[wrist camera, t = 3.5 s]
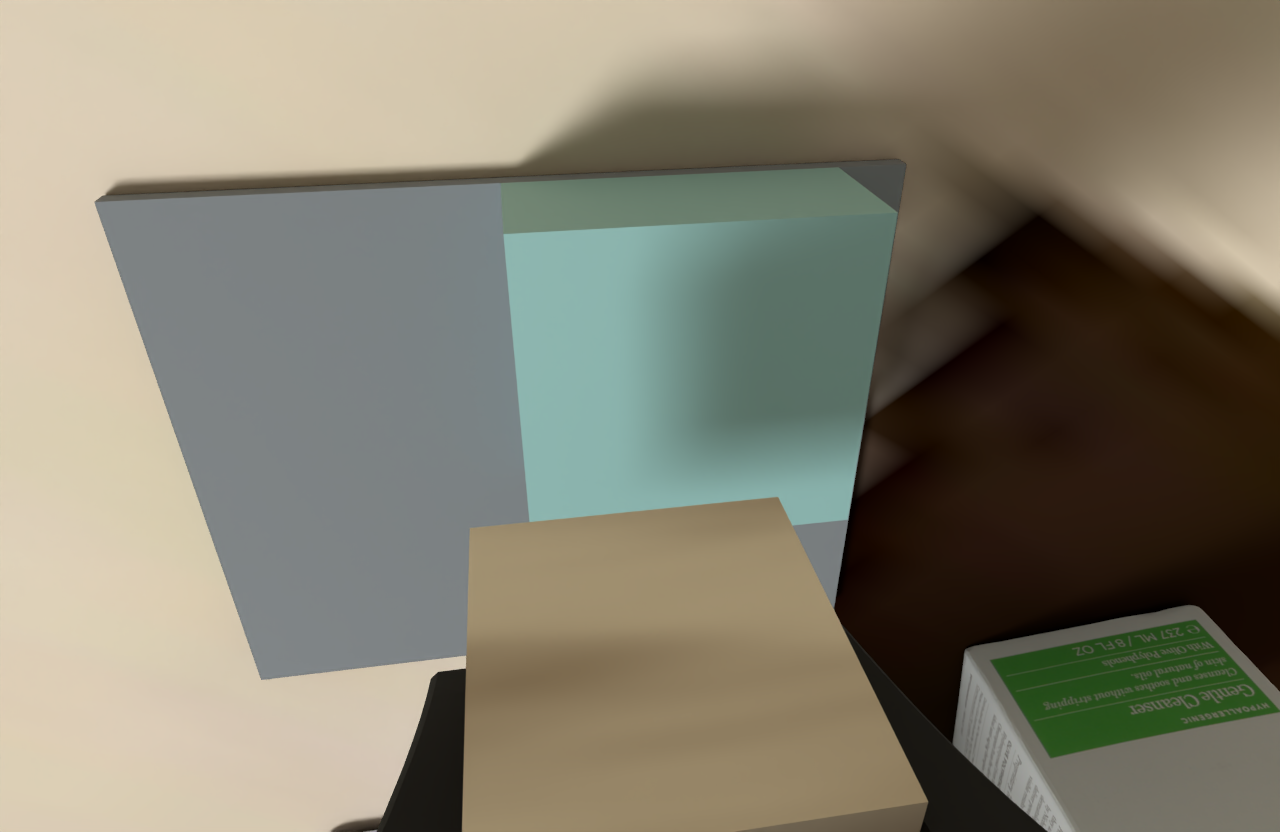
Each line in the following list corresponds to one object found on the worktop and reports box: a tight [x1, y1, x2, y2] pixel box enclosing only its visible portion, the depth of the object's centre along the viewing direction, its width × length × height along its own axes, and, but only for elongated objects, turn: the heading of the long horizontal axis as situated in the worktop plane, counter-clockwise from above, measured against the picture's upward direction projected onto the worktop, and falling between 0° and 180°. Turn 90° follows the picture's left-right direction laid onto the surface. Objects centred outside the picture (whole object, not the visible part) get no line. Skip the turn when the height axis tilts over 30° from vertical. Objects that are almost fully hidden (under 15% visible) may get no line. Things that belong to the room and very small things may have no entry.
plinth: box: [501, 167, 898, 525], centre depth 18 cm, size 7×7×3 cm
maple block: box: [462, 497, 928, 832], centre depth 11 cm, size 4×4×5 cm
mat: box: [95, 159, 906, 680], centre depth 20 cm, size 13×16×1 cm
